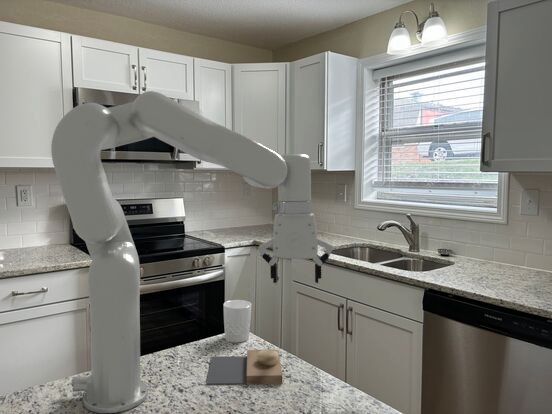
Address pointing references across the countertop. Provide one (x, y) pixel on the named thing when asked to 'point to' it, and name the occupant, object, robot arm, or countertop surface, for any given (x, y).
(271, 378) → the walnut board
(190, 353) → the countertop surface
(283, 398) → the countertop surface
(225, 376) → the rubber mat
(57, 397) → the countertop surface
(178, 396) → the countertop surface
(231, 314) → the white cup
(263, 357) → the cream dome knob
